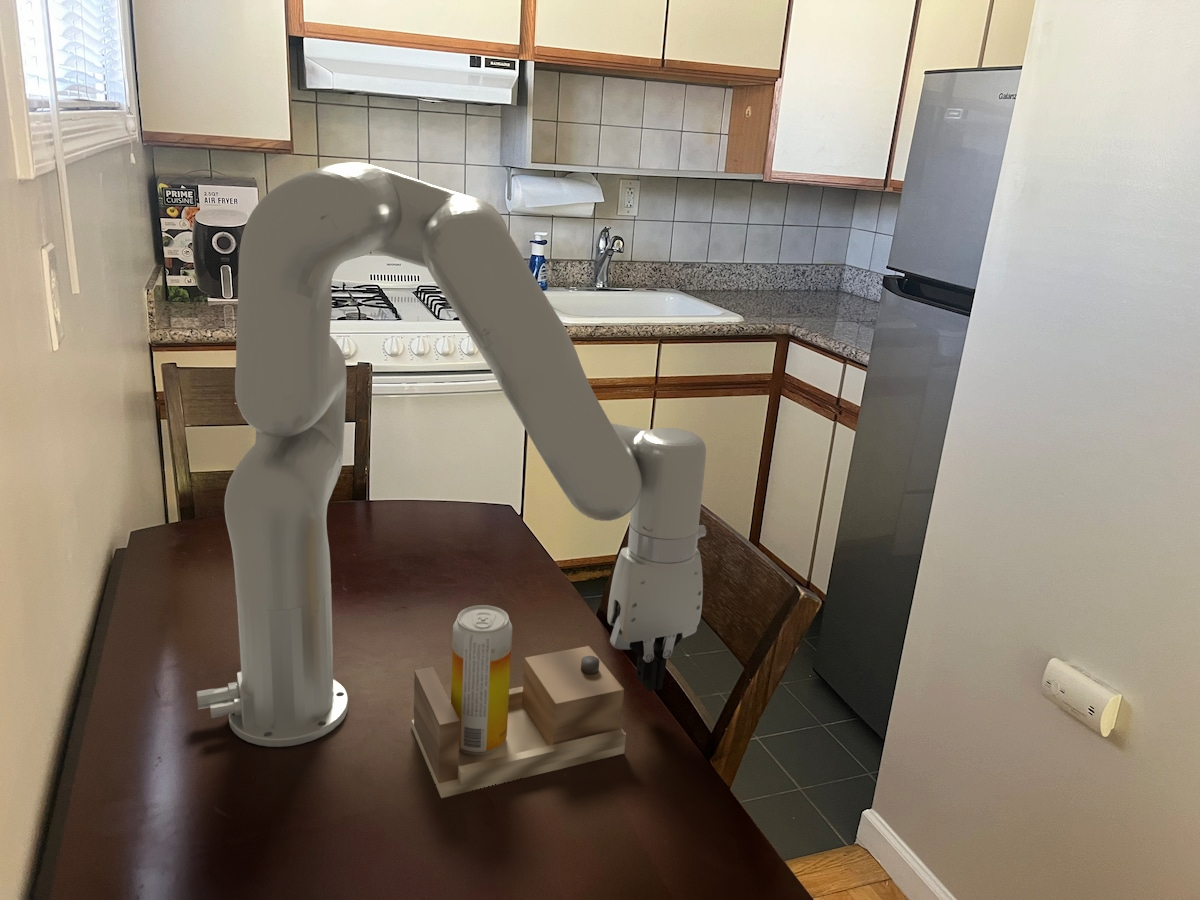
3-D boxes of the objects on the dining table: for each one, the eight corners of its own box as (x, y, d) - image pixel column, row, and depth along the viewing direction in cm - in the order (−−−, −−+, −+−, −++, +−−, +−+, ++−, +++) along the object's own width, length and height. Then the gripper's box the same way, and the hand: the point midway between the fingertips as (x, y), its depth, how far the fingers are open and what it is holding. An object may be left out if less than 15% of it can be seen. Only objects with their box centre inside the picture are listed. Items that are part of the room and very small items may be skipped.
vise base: (441, 798, 89) (442, 730, 86) (411, 727, 99) (412, 665, 97) (624, 753, 98) (630, 690, 95) (579, 692, 108) (584, 634, 105)
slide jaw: (552, 751, 95) (556, 693, 93) (522, 702, 103) (525, 648, 101) (619, 735, 98) (625, 679, 96) (585, 689, 106) (589, 636, 104)
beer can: (508, 724, 99) (514, 604, 95) (504, 759, 94) (511, 634, 89) (453, 721, 99) (456, 601, 94) (446, 757, 93) (449, 631, 88)
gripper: (702, 519, 104) (688, 655, 110) (586, 535, 98) (578, 679, 104) (738, 545, 98) (721, 688, 104) (616, 565, 92) (605, 716, 98)
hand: (649, 683), depth 104 cm, fingers closed
